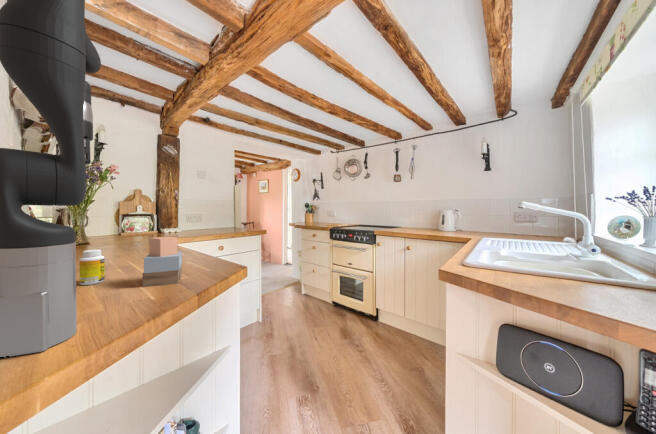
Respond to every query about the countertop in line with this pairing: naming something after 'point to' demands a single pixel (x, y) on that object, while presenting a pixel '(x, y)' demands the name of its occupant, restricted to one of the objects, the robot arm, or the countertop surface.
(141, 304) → the countertop surface
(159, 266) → the upper block
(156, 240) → the terracotta cube
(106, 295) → the countertop surface
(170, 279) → the lower block
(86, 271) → the supplement bottle
